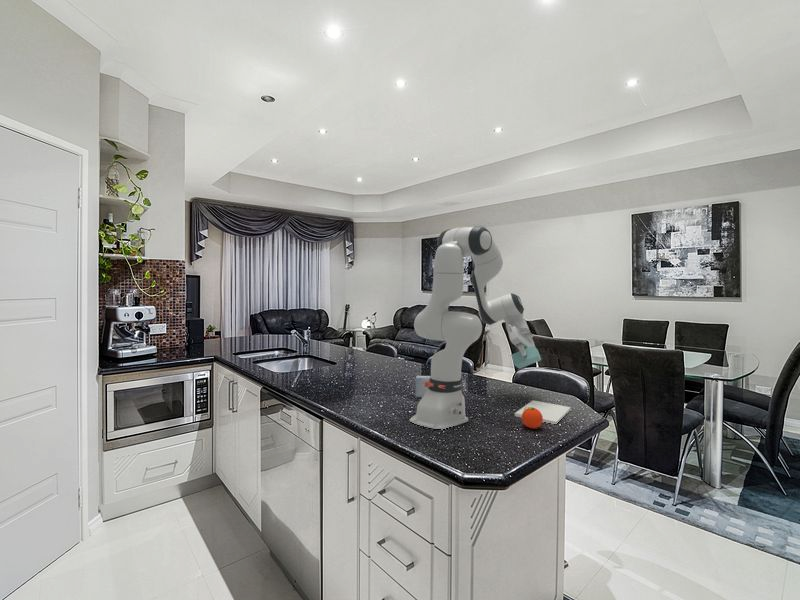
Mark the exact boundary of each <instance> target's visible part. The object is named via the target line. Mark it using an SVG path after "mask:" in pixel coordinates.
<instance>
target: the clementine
mask: <svg viewBox="0 0 800 600" xmlns="http://www.w3.org/2000/svg"><path fill="white" fill-rule="evenodd" d="M526 408H527V409H525V408H524V412H523V413H522V418H521V421H522V423H523V425H525V426H526V427H527V428H529V429H538V428H539V427H540V426H542V424H543V422H542V421H543V417H542V414H541V412H540V411H539V410H538V409H536V408H533V407H526Z"/></svg>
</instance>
